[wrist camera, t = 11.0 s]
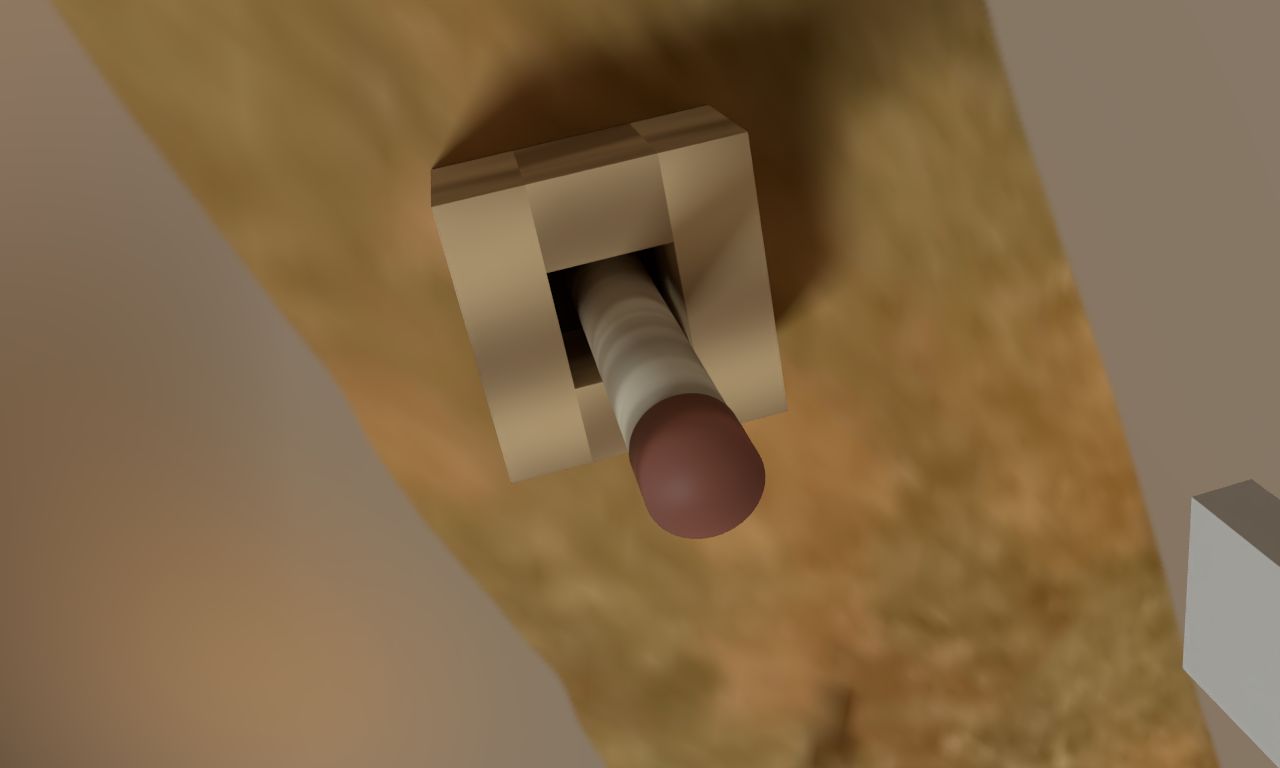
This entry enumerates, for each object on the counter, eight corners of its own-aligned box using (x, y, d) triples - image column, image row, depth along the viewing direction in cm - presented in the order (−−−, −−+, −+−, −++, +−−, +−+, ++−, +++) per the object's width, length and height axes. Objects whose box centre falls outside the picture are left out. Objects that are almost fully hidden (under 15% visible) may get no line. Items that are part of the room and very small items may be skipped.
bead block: (430, 169, 35) (431, 207, 31) (708, 104, 36) (747, 131, 32) (502, 419, 40) (511, 483, 35) (748, 356, 41) (787, 410, 36)
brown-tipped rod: (555, 243, 37) (632, 448, 23) (632, 224, 38) (756, 416, 23) (572, 315, 39) (656, 552, 24) (646, 296, 39) (773, 520, 25)
